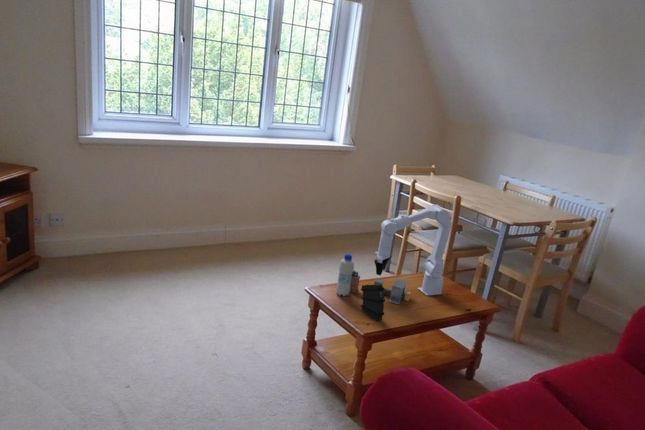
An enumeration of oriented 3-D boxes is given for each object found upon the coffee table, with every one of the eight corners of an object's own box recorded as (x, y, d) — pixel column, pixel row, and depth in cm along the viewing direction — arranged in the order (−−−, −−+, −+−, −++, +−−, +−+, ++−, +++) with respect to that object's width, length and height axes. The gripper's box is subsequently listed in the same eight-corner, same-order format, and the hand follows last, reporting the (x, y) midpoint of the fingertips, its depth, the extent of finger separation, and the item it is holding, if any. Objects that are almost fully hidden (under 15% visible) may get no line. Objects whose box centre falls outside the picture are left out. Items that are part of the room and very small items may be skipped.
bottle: (351, 297, 223) (357, 257, 217) (337, 297, 221) (343, 257, 215) (347, 291, 229) (353, 251, 223) (333, 290, 227) (339, 251, 221)
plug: (409, 298, 230) (411, 288, 228) (408, 301, 227) (410, 291, 225) (374, 288, 235) (376, 278, 234) (372, 291, 232) (374, 281, 231)
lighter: (358, 289, 232) (361, 270, 229) (357, 292, 229) (361, 273, 226) (341, 286, 233) (344, 267, 230) (340, 289, 230) (344, 270, 227)
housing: (405, 291, 237) (408, 278, 235) (398, 304, 222) (401, 291, 220) (395, 289, 238) (397, 276, 236) (388, 301, 224) (390, 288, 222)
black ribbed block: (381, 321, 201) (377, 285, 202) (362, 320, 212) (357, 285, 213) (388, 320, 203) (383, 284, 205) (368, 318, 214) (364, 284, 215)
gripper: (380, 239, 235) (376, 264, 239) (373, 247, 222) (368, 275, 226) (394, 242, 233) (390, 268, 237) (388, 251, 220) (383, 278, 224)
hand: (380, 271), depth 231 cm, fingers open, 7 cm apart
